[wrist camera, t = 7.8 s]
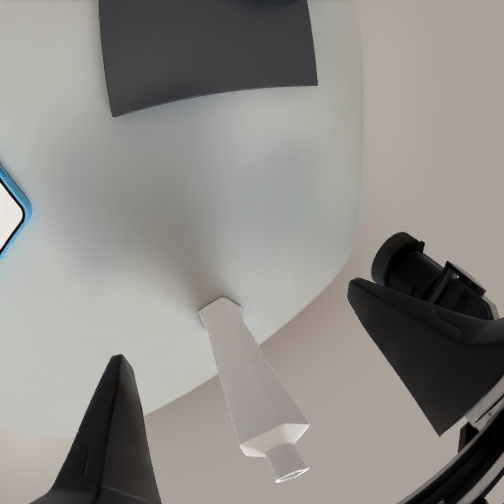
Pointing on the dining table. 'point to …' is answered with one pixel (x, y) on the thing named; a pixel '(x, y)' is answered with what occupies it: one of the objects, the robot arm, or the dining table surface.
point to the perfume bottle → (254, 392)
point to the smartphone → (11, 211)
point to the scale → (202, 48)
